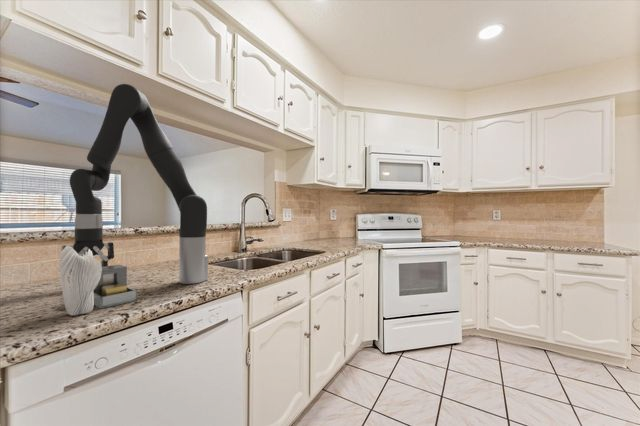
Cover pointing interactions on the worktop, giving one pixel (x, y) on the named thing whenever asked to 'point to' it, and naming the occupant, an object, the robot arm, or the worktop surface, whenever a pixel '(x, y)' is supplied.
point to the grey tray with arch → (119, 278)
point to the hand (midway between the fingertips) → (88, 273)
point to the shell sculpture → (78, 280)
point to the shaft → (108, 278)
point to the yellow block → (114, 289)
